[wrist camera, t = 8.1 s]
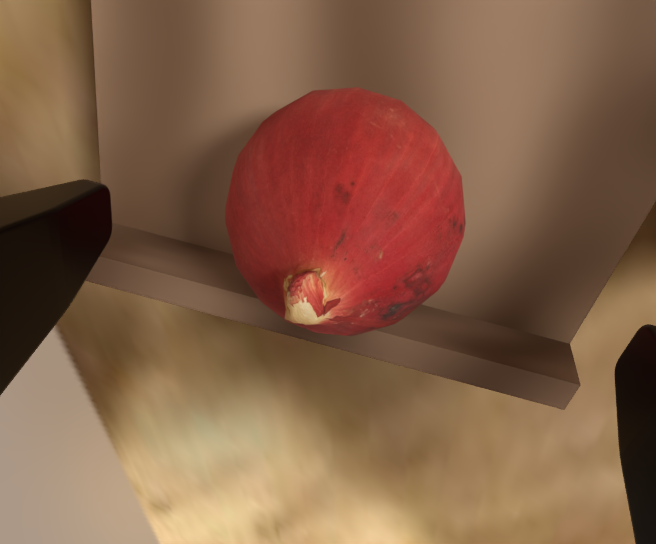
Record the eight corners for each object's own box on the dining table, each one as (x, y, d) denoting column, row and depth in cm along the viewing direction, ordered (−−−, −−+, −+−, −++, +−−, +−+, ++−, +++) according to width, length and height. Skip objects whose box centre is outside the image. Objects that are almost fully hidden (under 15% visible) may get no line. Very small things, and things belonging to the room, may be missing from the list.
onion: (506, 147, 16) (541, 324, 10) (376, 268, 19) (337, 463, 13) (348, 8, 15) (265, 103, 8) (237, 162, 18) (113, 318, 11)
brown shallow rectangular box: (706, -12, 16) (814, 30, 12) (540, 301, 23) (564, 409, 19) (152, -143, 17) (33, -157, 12) (151, 199, 24) (74, 277, 19)
